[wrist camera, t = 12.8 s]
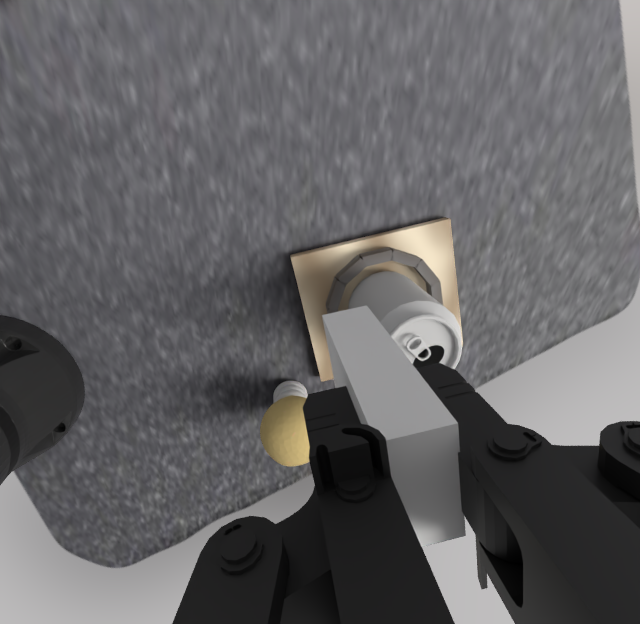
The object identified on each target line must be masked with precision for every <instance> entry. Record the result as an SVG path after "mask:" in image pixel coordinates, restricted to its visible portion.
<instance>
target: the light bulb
mask: <svg viewBox="0 0 640 624" xmlns="http://www.w3.org/2000/svg"><path fill="white" fill-rule="evenodd" d="M307 396H308V395H307V390H306V388H305V387H304V386H303V385H302V384H301V383H299V382H297V381H285V382H283V383H281V384H280V385H278V386H277V388H276V389H275V391H274V394H273V404H272V405H271V406H270V407H269V408H268V410H267V411H266V413H265V414H264V417H263V419H262V422H261V427H260V436H261V441H262V444H263V446H264V448H265V450H266V451H267V453H268V454H269V455H270V456H271V457H272V458H273V459H274V460H275V461H276V462H278V463H279V464H282V465H284V466H298V465H302V464H305V463H308V462H310V461H309V449H310V445H309V440H308V434H307V429H306V424H305V418H304V413H303V405H304V403H305V401H306V399H307Z"/></svg>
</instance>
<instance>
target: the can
mask: <svg viewBox="0 0 640 624" xmlns="http://www.w3.org/2000/svg"><path fill="white" fill-rule="evenodd" d="M366 305H367V306H368V308H369V309H370V310H371V311H372V313H373V314H374V315H375V317H376V318H377V319H378V320H379V322H380V323H381V324H382V326H383V327H384V328H385V329H386V331H387V332H388V333H389V335H390V336H391V337H392V339H393V340H394V341H395V342H396V344H397V345H398V346H399V348H400V349H401V350H402V351H403V353H404V354H405V355H406V357H407V358H408V359H409V360H410V362H411V363H412V364H413V366H414V367H415V368H419V367H423V366H428V365H432V364H437V363H441V364H443V365H445V366H448V367H450V368H452V369H455V367H456V365H457V364H458V362H459V360H460V356H461V351H462V343H461V340H462V338H461V330H460V326H459V324H458V322H457V320H456V318H455V316H454V315H453V314H452V313H451V312H450V311H449V310H448V309H447V308H445V307H444V306H443V305H442V304H441V303H439V302H438V301H437V300H436V299H434V298H433V297H432V296H430V295H429V294H428V293H427V292H425V291H424V290H423V289H422V288H420V287H419V286H418V285H417V284H415V283H414V282H413V281H411V280H410V279H409V278H408V277H406V276H405V275H402V274H400V273H397V272H392V271H382V272H378V273H375V274H371V275H370V276H368V277H367V278H365V279H363V280H362V281H361V282H360V283H359V284H358V285H357V287H356V288H355V289H354V290H353V292H352V295H351V297H350V299H349V305H348V309H352V308H357V307H362V306H366Z"/></svg>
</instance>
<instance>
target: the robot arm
mask: <svg viewBox="0 0 640 624" xmlns="http://www.w3.org/2000/svg"><path fill="white" fill-rule="evenodd" d="M322 318H323V323H324V329H325V334H326V339H327V345H328V350H329V356H330V361H331V366H332V372H333V377H334V382H335V388H334V389H330V390H325V391H321V392H317V393H312V394H308V396H307V399H306V401H305V403H304V405H303V413H304V418H305V424H306V429H307V434H308V440H309V445H310V449H309V461H310V465H311V470H312V474H313V478H314V483H315V487H314V491H313V494H312V495H311V497H310V498H309V500H308V502H307V503H306V504H305V505H304V506H303V507H302V508H301V509H300V510H299V511H297V512H296V513H294V514H293V515H291V516H290V517H288V518H286V519H285V520H283V521H281V522H279V523H277V524H274V523H273V522H271V521H270V520H268V519H266V518H264V517H256V516H249V517H245V518H240V519H236V520H234V521H232V522H230V523H228V524H227V525H224V526H223V527H221V528H220V529H219V530H218V531H217V532H216V533H215V534H214V535H213V536H212V537H210V538H209V540H208V541H207V543H206V545H205V546H204V548H203V550H202V551H201V553H200V556H199V558H198V561H197V563H196V565H195V568H194V571H193V573H192V576H191V578H190V581H189V583H188V586H187V588H186V591H185V593H184V596H183V598H182V601H181V603H180V606H179V608H178V611H177V613H176V616H175V619H174V621H173V624H455V623H454V621H453V619H452V617H451V614H450V612H449V610H448V607H447V605H446V603H445V600H444V598H443V596H442V593H441V591H440V589H439V587H438V584H437V582H436V580H435V577H434V575H433V573H432V570H431V568H430V565H429V563H428V561H427V559H426V556H425V554H424V552H423V549H422V547H424V546H428V545H432V544H435V543H439V542H443V541H447V540H451V539H454V538H459V537H462V536H465V520H464V516H465V517H466V519H467V521H468V522H469V524H470V526H471V527H472V529H473V531H474V532H475V534H476V550H477V566H478V567H477V568H478V579H479V582H480V585H481V588H482V589H485V588H487V574H488V576H489V578H490V579H491V581H492V583H493V585H494V587H495V588H496V590H497V592H498V594H499V595H500V597H501V599H502V601H503V603H504V604H505V606H506V608H507V610H508V612H509V614H510V615H511V617H512V619H513V621H514V623H515V624H640V422H638V421H627V422H626V421H625V422H618V423H614V424H611V425H608V426H607V427H606V428H604V429H603V430H602V431H601V433H600V444H599V446H559V445H551V444H550V443H549V442H548V441H547V440H546V439H545V438H544V437H542V436H541V435H539V434H538V433H536V432H535V431H533V430H531V429H528V428H525V427H522V426H519V425H512V424H507V423H506V422H505V421H504V420H503V419H502V418H501V416H500V415H499V414H498V413H497V412H496V411H495V410H494V409H493V408H492V407H491V406H490V405H489V404H488V403H487V402H486V401H485V400H484V399H483V398H482V397H481V396H480V395H479V394H478V393H476V392H475V389H474V388H473V387H472V386H471V385H470V384H469V383H467V382H466V380H465V379H464V378H463V377H462V376H461V375H460V374H459V373H458V372H457V371H456V370H454V369H452V368H450V367H448V366H445V365H443V364H441V363H437V364H432V365H428V366H423V367H419V368H415V367H414V366H413V364H412V363H411V362H410V360H409V359H408V358H407V357H406V355H405V354H404V353H403V351H402V350H401V349H400V348H399V346H398V345H397V344H396V342H395V341H394V340H393V339H392V337H391V336H390V335H389V333H388V332H387V331H386V329H385V328H384V327H383V326H382V324H381V323H380V322H379V320H378V319H377V318H376V317H375V315H374V314H373V313H372V311H371V310H370V309H369V308H368V306H367V305H366V306H362V307H357V308H352V309H348V310H343V311H339V312H334V313H329V314H325V315H322ZM84 395H85V391H84V382H83V378H82V375H81V372H80V370H79V367H78V366H77V364H76V362H75V360H74V359H73V357H72V356H71V355H70V353H69V352H68V351H67V350H66V349H65V348H64V347H63V345H62V344H60V343H59V342H58V341H57V340H56V339H55V338H53V337H52V336H51V335H49V334H48V333H46V332H45V331H43V330H41V329H39V328H37V327H36V326H33V325H31V324H29V323H26V322H24V321H21V320H17V319H14V318H10V317H4V316H0V485H1V484H2V482H3V481H4V480H5V479H6V477H7V476H8V475H9V474H10V473H11V472H12V471H14V470H15V469H17V468H19V467H20V466H22V465H24V464H25V463H27V462H29V461H30V460H32V459H34V458H36V457H37V456H39V455H41V454H42V453H44V452H46V451H47V450H49V449H50V448H52V447H53V446H54V445H56V444H57V443H58V442H59V441H60V440H61V439H62V438H63V437H64V436H65V435H66V434H67V432H68V431H69V430H70V428H71V427H72V426H73V424H74V423H75V421H76V420H77V418H78V417H79V415H80V413H81V410H82V407H83V403H84Z"/></svg>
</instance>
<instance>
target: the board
mask: <svg viewBox="0 0 640 624" xmlns="http://www.w3.org/2000/svg"><path fill="white" fill-rule="evenodd" d="M290 257H291V261H292V265H293V269H294V273H295V277H296V281H297V285H298V289H299V293H300V297H301V301H302V305H303V309H304V313H305V317H306V321H307V325H308V329H309V333H310V338H311V342H312V346H313V350H314V354H315V358H316V362H317V366H318V370H319V374H320V378H321V382H323V381H327V380H331V379H334V377H333V372H332V366H331V361H330V356H329V350H328V345H327V339H326V334H325V329H324V323H323V318H322V315H325V314H329V313H334V312H339V311H343V310H348V305H349V299H350V297H351V295H352V292H353V290H354V289H355V288H356V287H357V285H358V284H359V283H360V282H361V281H362V280H363V279H365V278H367V277H368V276H370V275H371V274H375V273H378V272H382V271H392V272H397V273H400V274H402V275H405V276H406V277H408V278H409V279H410V280H411V281H413V282H414V283H415V284H417V285H418V286H419V287H420V288H422V289H423V290H424V291H425V292H427V293H428V294H429V295H430V296H432V297H433V298H434V299H436V300H437V301H438V302H439V303H441V304H442V305H443V306H444V307H445V308H447V309H448V310H449V311H450V312H451V313H452V314H453V315H454V316H455V318H456V320H457V322H458V324H459V326H460V330H461V338H462V329H461V319H460V310H459V300H458V290H457V280H456V270H455V260H454V250H453V240H452V231H451V221H450V219H449V218H446V217H445V218H441V219H437V220H432V221H428V222H424V223H420V224H416V225H412V226H408V227H404V228H399V229H395V230H391V231H387V232H383V233H379V234H375V235H371V236H366V237H362V238H358V239H354V240H350V241H346V242H342V243H338V244H333V245H329V246H325V247H321V248H317V249H313V250H309V251H305V252H300V253H296V254H292V255H290ZM461 343H462V346H463V339H462V340H461Z"/></svg>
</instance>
